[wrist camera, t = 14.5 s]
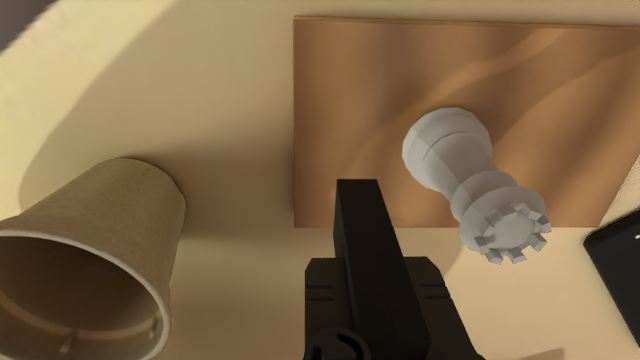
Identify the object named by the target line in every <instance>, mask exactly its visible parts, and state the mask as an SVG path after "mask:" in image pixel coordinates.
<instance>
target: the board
mask: <svg viewBox="0 0 640 360" xmlns="http://www.w3.org/2000/svg"><path fill="white" fill-rule="evenodd" d="M293 87H294V227H295V228H334V215H335V199H336V183H337V179H377V181H378V184H379V187H380V190H381V193H382V196H383V199H384V202H385V204H386V207H387V210H388V213H389V216H390V219H391V222H392V225H393V228H456V227H459V225H460V222H459V221H458V220H457V219H456V218H454V217H453V214H452V211H451V208H450V205H451V203H450V201H449V200H448V199H447V198H446V197H445V196H444V195H443V194H442V193H441V192H438V191H435V190H433V189H429V188H426V187H424V186H423V185H422V184H420V183H419V182H418V181H417V180H416V179H415V178H414V177H412V175H411V172H410V171H409V170H408V169H407V168H406V166H405V163H404V160H403V158H402V150H403V141H404V139H405V137H406V136H407V134H408V132H409V130H410V128H411V127H412V126H413V125H414V124H415V123H416V122H417V121H418V120H419V119H421V118H422V117H423V116H424V115H426V114H428V113H431V112H433V111H435V110H438V109H440V108H455V107H458V108H460V109H463V110H466V111H469V112H471V113H473V114H474V115H475V117H476V118H477V119H478V120H479V121H480V122H481V123H482V125H483V126H484V127H485V128H486V129H487V130H488V133H489V136H490V140H491V144H492V160H493V162H494V163H495V165H496V166H497V168H498V170H499V171H501V172H504V173H507V174H510V175H511V176H512V177H513V178H514V179H515V180H516V182H517V185H518V186H523V187H526V188H529V189H532V190H535V191H536V192H537V193H538V194H539V195H540V196H541V197H542V198H543V199H544V201H545V208H546V216H545V217H546V218H547V219H548V220H549V221H550V225H551V227H598V226H599V224H600V223H601V221H602V219H603V217H604V216H605V214H606V212H607V210H608V209H609V207H610V205H611V203H612V202H613V200H614V198H615V196H616V195H617V193H618V191H619V189H620V188H621V186H622V184H623V182H624V181H625V179H626V177H627V175H628V173H629V172H630V170H631V168H632V166H633V165H634V163H635V161H636V159H637V158H638V156H639V154H640V27H627V26H595V25H563V24H531V23H499V22H467V21H434V20H402V19H370V18H338V17H306V16H294V19H293Z"/></svg>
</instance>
